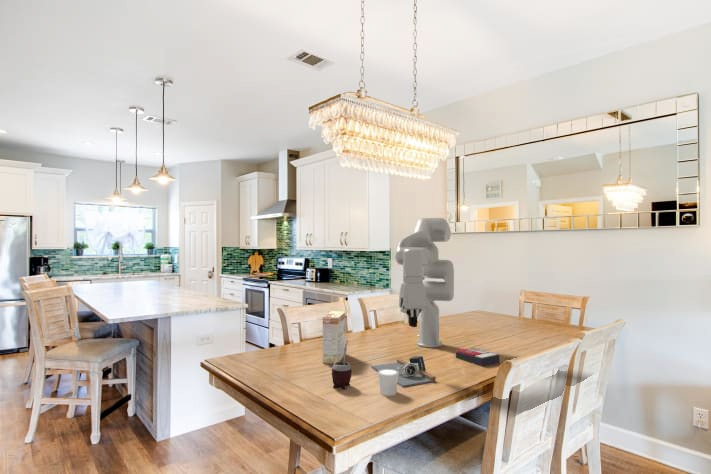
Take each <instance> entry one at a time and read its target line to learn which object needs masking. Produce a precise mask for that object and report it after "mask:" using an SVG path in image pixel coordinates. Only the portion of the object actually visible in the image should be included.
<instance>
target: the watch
mask: <svg viewBox="0 0 711 474" xmlns="http://www.w3.org/2000/svg"><path fill="white" fill-rule="evenodd" d="M408 361H409V362H408ZM408 361H407V362H408V364H405V365H402V366H400V367H398V373H399V375H404V376H408V377H414V376H415V375H416V374H417V373H418V371H419V370H424V371H426V370H427V369H426V366H425V360H424V357H423V356H417V355H416V356H412V357H410V358H408ZM426 372H427V371H426Z"/></svg>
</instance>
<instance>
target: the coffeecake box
mask: <svg viewBox="0 0 711 474" xmlns="http://www.w3.org/2000/svg"><path fill="white" fill-rule="evenodd" d="M345 344H346V311H343V310H342V311H341V310H340V311H339V310H331V311H330V312H328V313H327V314H325V315H324V316H322V363H323V364H333V365H334V364H335V363H337V362H341V360H342V359H344V348H345Z"/></svg>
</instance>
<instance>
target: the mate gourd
mask: <svg viewBox="0 0 711 474" xmlns="http://www.w3.org/2000/svg"><path fill="white" fill-rule="evenodd" d="M348 342H349V340H346V339H345V348H344V356H343V361H339V362H337V363H335V364H333V365H332V367H331V368H332V370H331V378H332V382H333V383H332V384H333V386H332V389H337V388H338V389H339V388H340V389H341V388H342V390H344V391H345V390H347V387H351V384H350V382H351V378H352V374H353V373H352V366H351V364H350V363H349V362H346V358H347V357H346V355H347V349H348V348H347V347H348Z"/></svg>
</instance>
